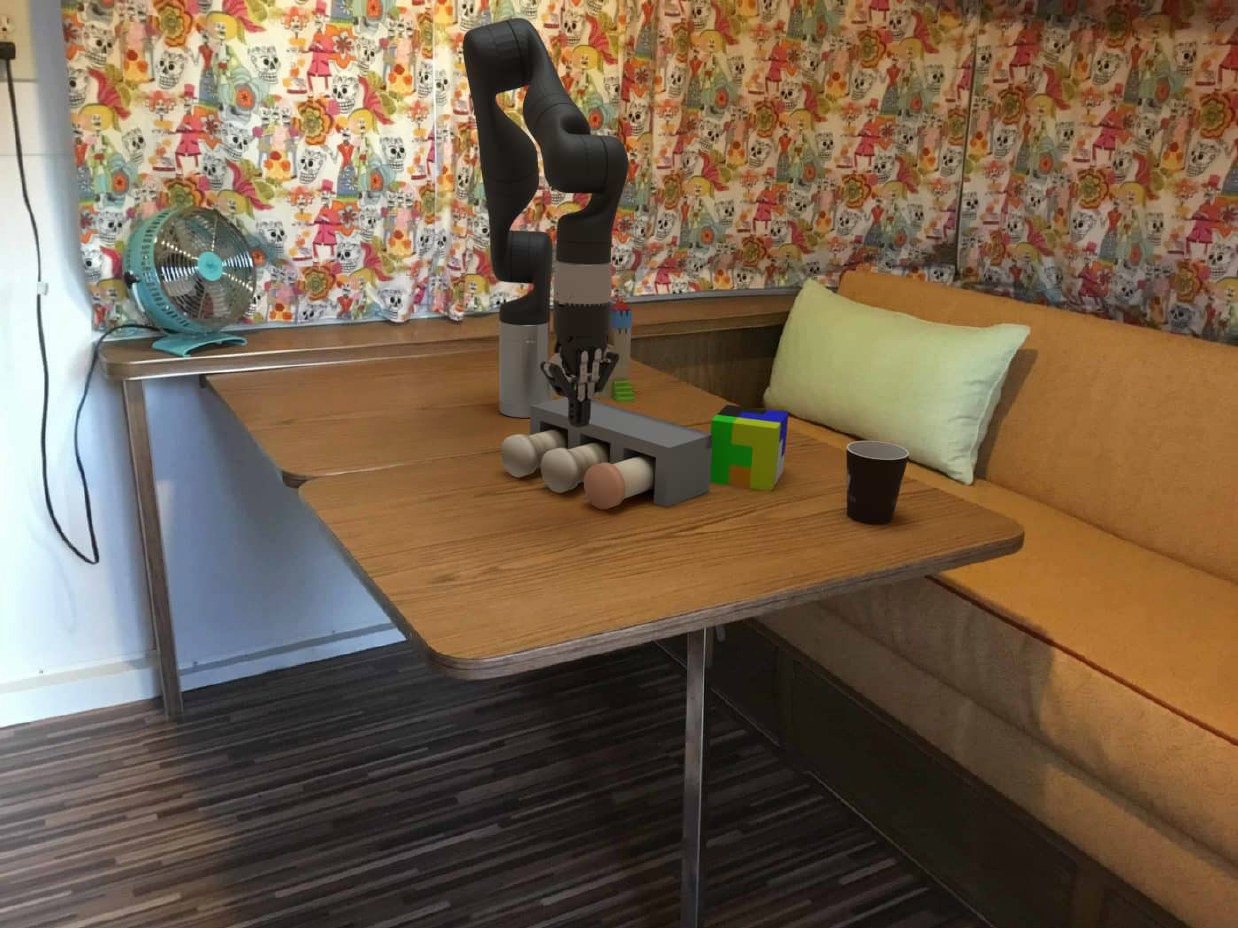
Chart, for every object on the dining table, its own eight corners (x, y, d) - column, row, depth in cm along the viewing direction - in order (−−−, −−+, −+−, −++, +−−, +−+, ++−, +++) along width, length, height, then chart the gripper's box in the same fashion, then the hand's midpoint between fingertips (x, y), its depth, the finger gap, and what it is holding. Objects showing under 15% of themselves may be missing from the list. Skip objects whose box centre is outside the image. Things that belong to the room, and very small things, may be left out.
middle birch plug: (588, 471, 160) (589, 432, 158) (618, 482, 156) (619, 442, 154) (540, 486, 153) (541, 445, 151) (570, 497, 149) (571, 455, 146)
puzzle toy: (782, 472, 164) (788, 412, 161) (771, 491, 155) (776, 428, 152) (722, 463, 167) (726, 404, 164) (707, 482, 158) (711, 420, 155)
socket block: (573, 446, 173) (575, 395, 170) (708, 491, 154) (712, 434, 151) (529, 459, 166) (530, 405, 163) (665, 507, 147) (669, 447, 144)
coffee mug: (889, 532, 141) (898, 463, 138) (830, 518, 145) (837, 451, 142) (914, 508, 151) (923, 443, 147) (857, 495, 155) (865, 432, 152)
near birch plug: (548, 458, 165) (549, 420, 163) (576, 467, 161) (577, 428, 159) (501, 471, 158) (501, 431, 156) (528, 481, 154) (529, 441, 152)
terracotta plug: (630, 486, 154) (632, 446, 152) (662, 498, 150) (665, 456, 148) (583, 502, 147) (584, 460, 145) (615, 514, 143) (617, 471, 141)
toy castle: (541, 371, 223) (542, 283, 217) (601, 368, 228) (604, 281, 222) (585, 405, 198) (588, 306, 192) (652, 400, 204) (656, 304, 197)
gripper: (597, 288, 139) (593, 411, 145) (524, 297, 130) (523, 428, 135) (638, 296, 134) (632, 423, 140) (565, 305, 125) (562, 441, 130)
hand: (578, 425), depth 137 cm, fingers closed
